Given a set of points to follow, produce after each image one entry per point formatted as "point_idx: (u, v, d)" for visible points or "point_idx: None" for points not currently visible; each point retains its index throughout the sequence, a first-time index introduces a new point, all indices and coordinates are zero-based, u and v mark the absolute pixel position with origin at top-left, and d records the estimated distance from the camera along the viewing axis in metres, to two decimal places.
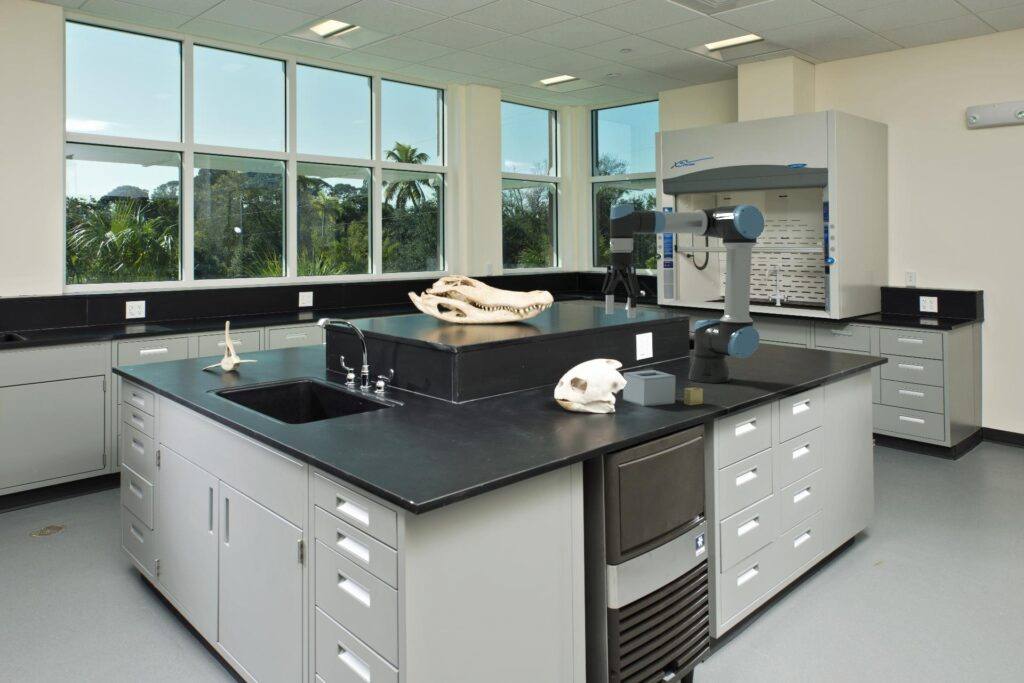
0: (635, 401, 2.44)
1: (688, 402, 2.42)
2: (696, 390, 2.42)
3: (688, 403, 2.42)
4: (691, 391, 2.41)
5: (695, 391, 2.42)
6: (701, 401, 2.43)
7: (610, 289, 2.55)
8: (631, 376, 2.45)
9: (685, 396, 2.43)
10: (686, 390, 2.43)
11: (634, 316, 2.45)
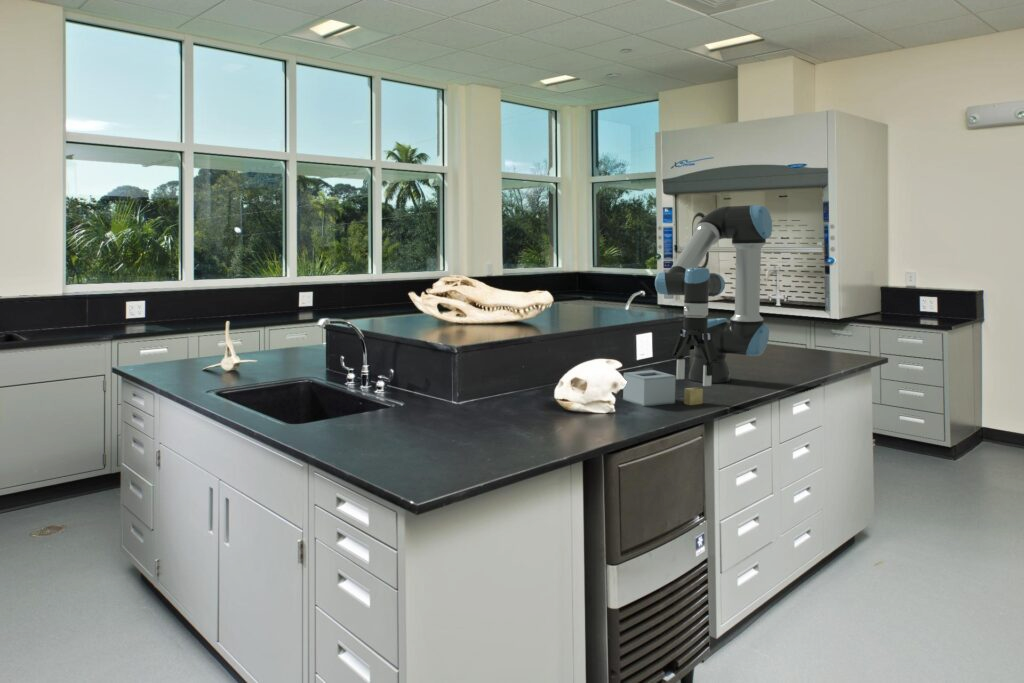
0: (635, 401, 2.44)
1: (688, 402, 2.42)
2: (696, 390, 2.42)
3: (688, 403, 2.42)
4: (691, 391, 2.41)
5: (695, 391, 2.42)
6: (701, 401, 2.43)
7: (682, 353, 2.47)
8: (631, 376, 2.45)
9: (685, 396, 2.43)
10: (686, 390, 2.43)
11: (710, 384, 2.36)
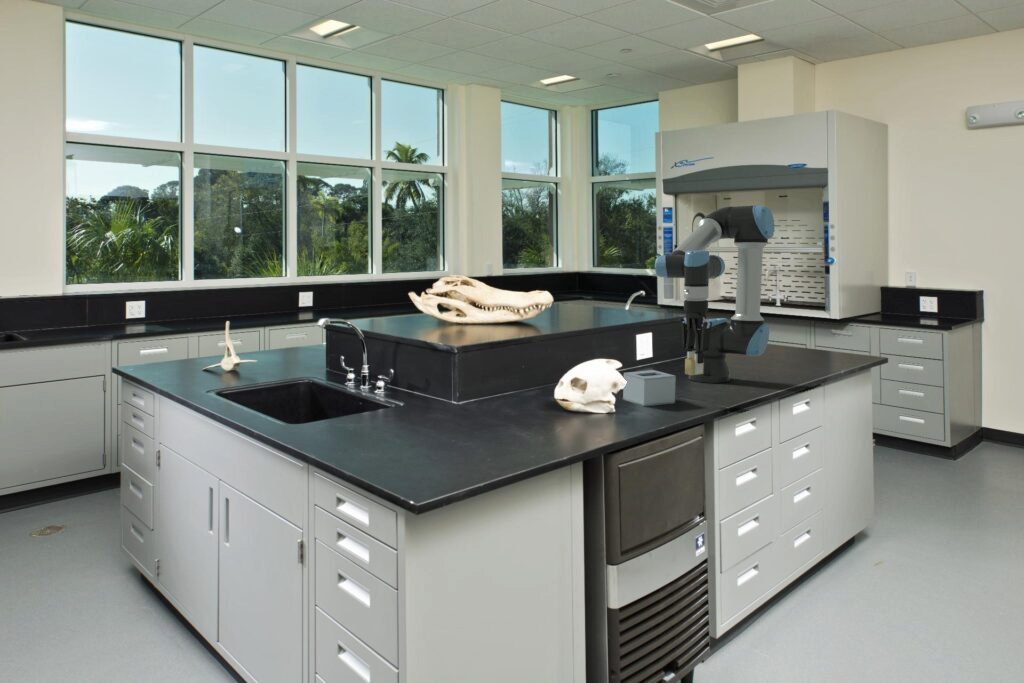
0: (635, 401, 2.44)
1: (689, 372, 2.41)
2: None
3: (689, 373, 2.41)
4: (692, 361, 2.40)
5: None
6: None
7: (690, 342, 2.43)
8: (631, 376, 2.45)
9: (686, 366, 2.42)
10: (687, 360, 2.42)
11: (701, 371, 2.41)
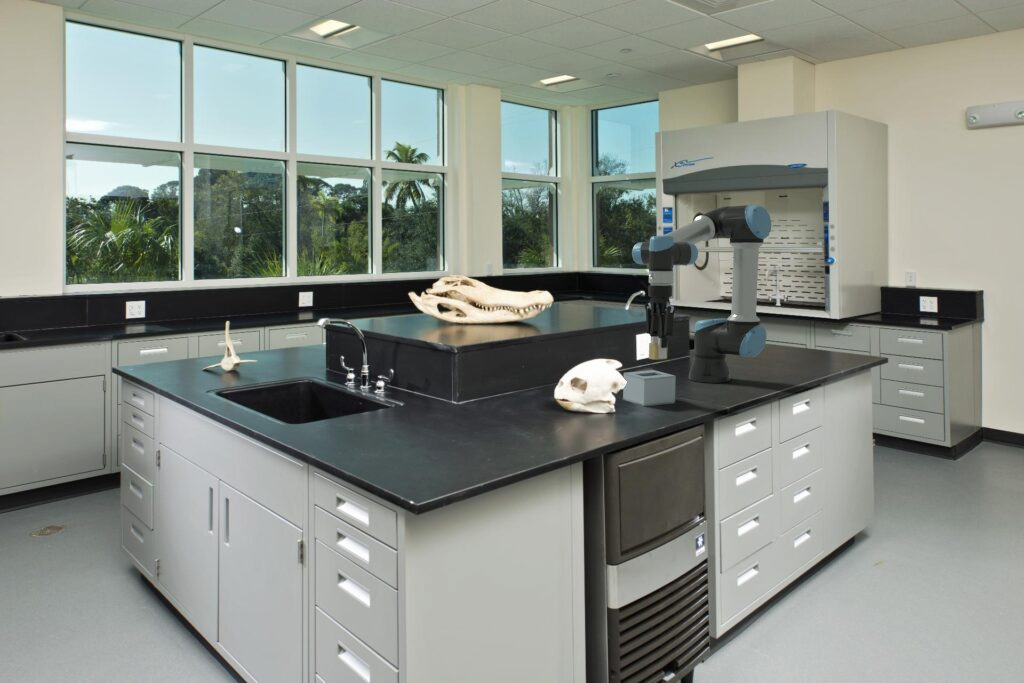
0: (635, 401, 2.44)
1: (653, 356, 2.43)
2: None
3: (653, 357, 2.43)
4: (656, 345, 2.42)
5: None
6: (666, 356, 2.44)
7: (654, 327, 2.45)
8: (631, 376, 2.45)
9: (650, 350, 2.44)
10: (651, 345, 2.43)
11: (664, 356, 2.43)
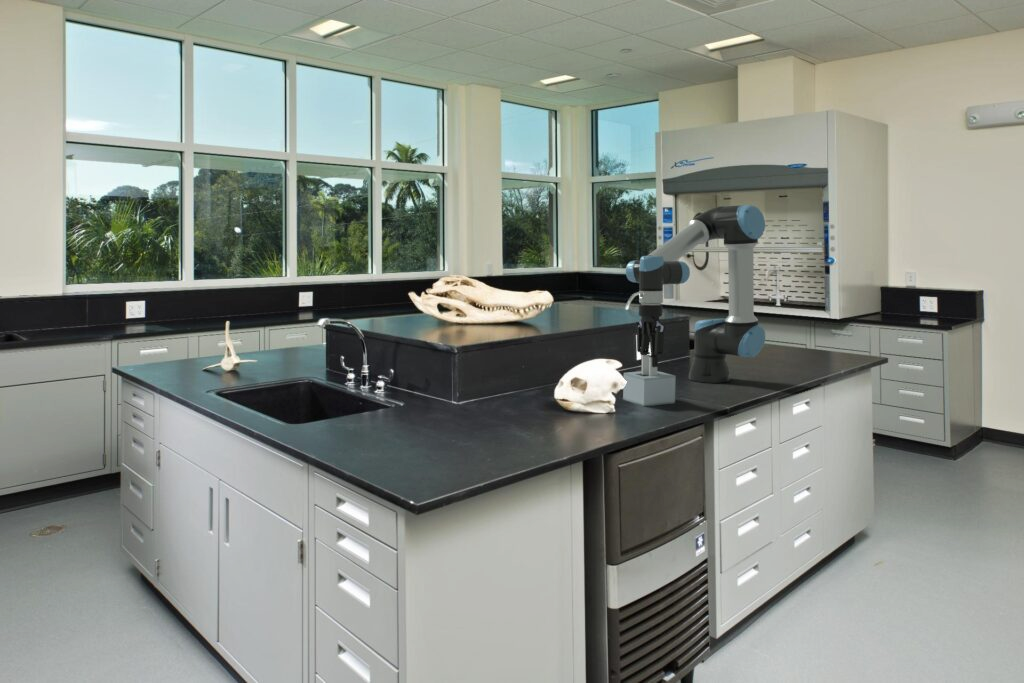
0: (635, 401, 2.44)
1: None
2: None
3: None
4: None
5: None
6: None
7: (645, 346, 2.47)
8: (631, 376, 2.45)
9: None
10: None
11: None
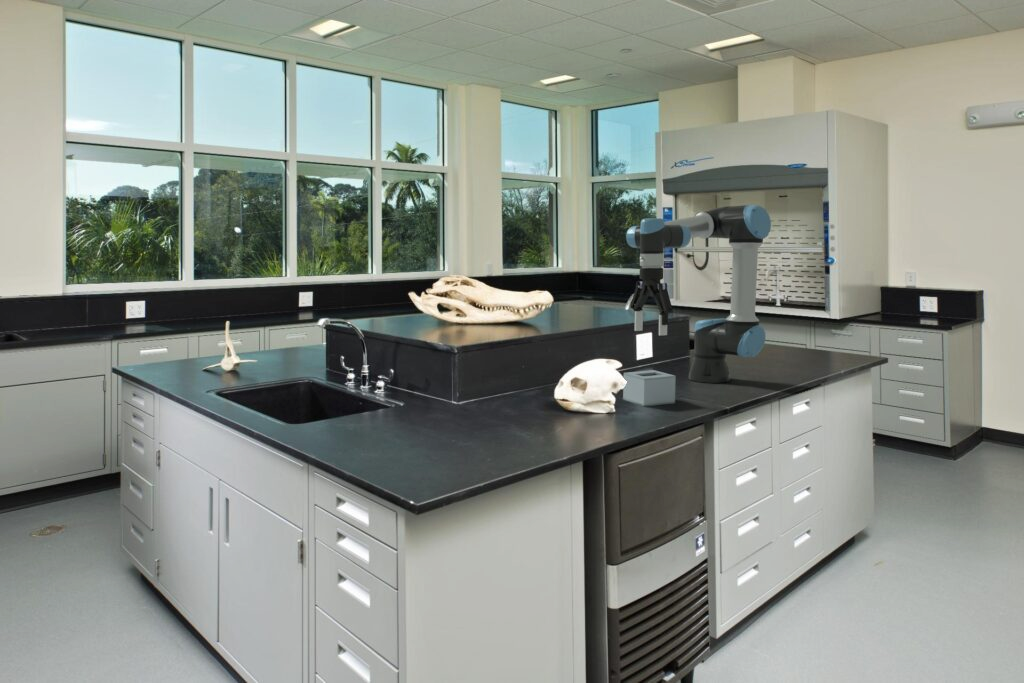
0: (635, 401, 2.44)
1: None
2: None
3: None
4: None
5: None
6: None
7: (639, 305, 2.49)
8: (631, 376, 2.45)
9: None
10: None
11: (665, 333, 2.39)
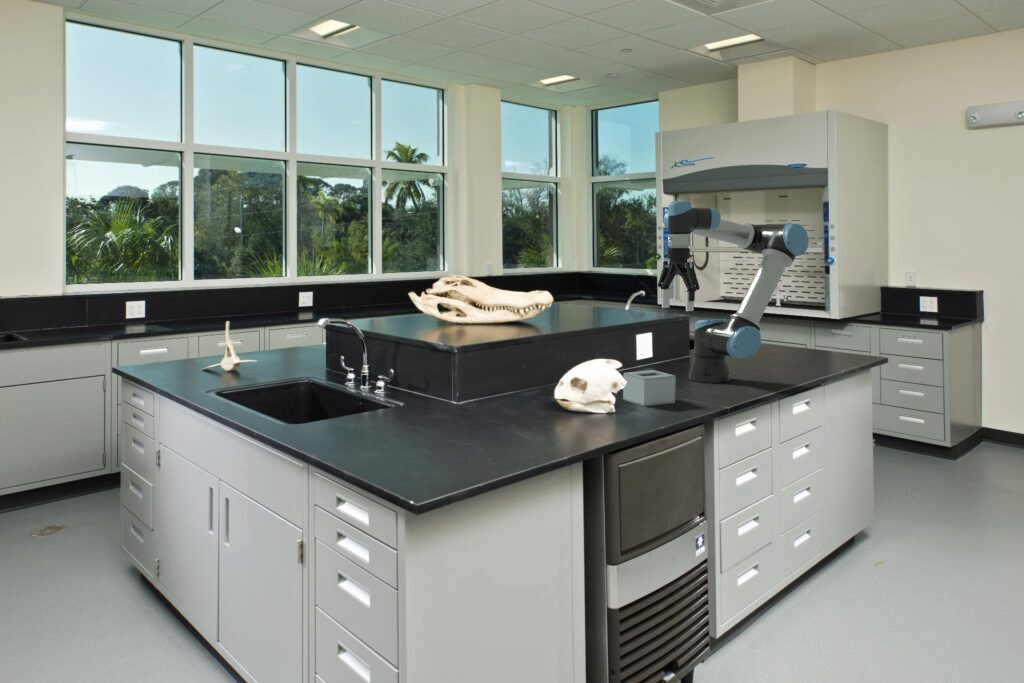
0: (635, 401, 2.44)
1: None
2: None
3: None
4: None
5: None
6: None
7: (666, 283, 2.64)
8: (631, 376, 2.45)
9: None
10: None
11: (692, 309, 2.54)
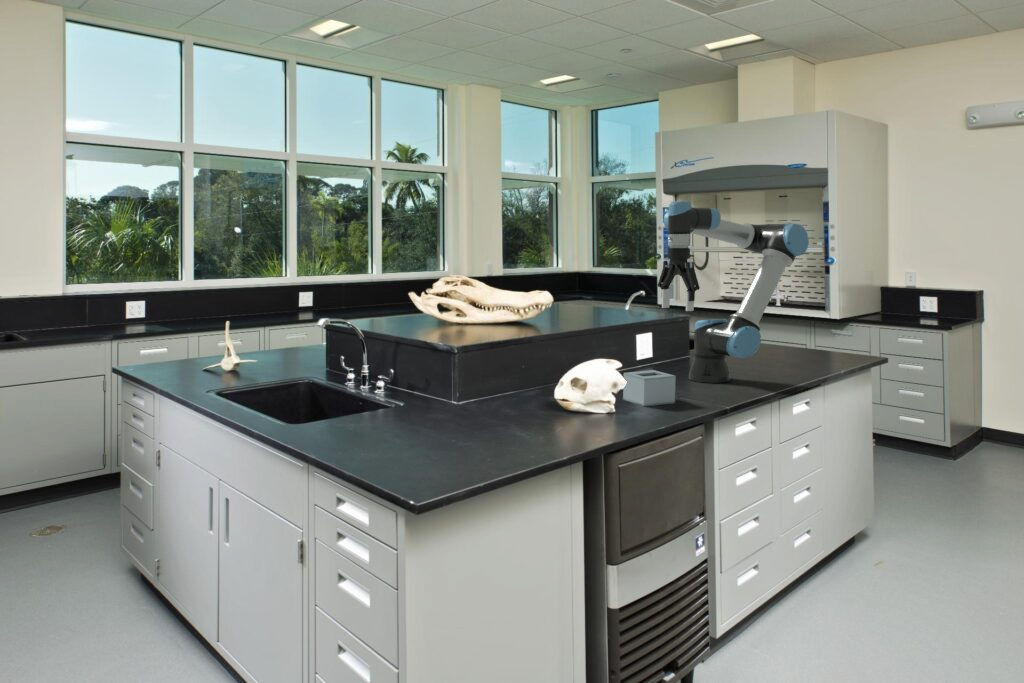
0: (635, 401, 2.44)
1: None
2: None
3: None
4: None
5: None
6: None
7: (666, 283, 2.64)
8: (631, 376, 2.45)
9: None
10: None
11: (692, 309, 2.54)
